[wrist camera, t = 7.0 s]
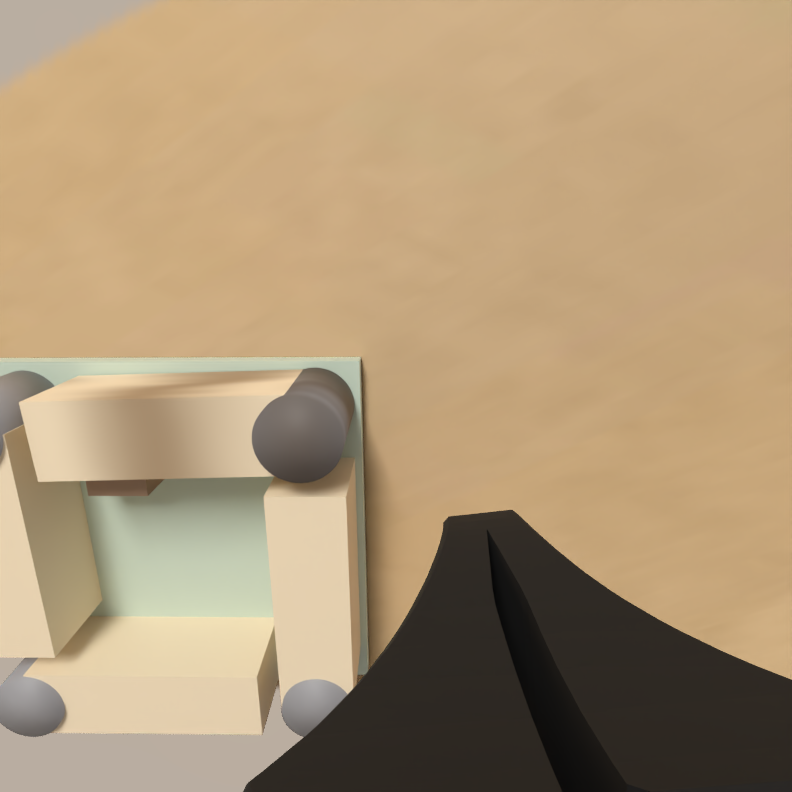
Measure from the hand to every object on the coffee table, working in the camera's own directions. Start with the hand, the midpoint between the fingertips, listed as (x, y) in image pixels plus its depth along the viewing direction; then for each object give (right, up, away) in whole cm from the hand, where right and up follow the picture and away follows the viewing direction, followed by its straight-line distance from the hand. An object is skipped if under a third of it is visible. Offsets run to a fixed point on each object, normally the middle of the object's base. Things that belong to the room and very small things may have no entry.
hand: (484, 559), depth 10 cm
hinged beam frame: (-9, -2, +10) cm, 14 cm away
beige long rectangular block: (-8, +3, +8) cm, 12 cm away
